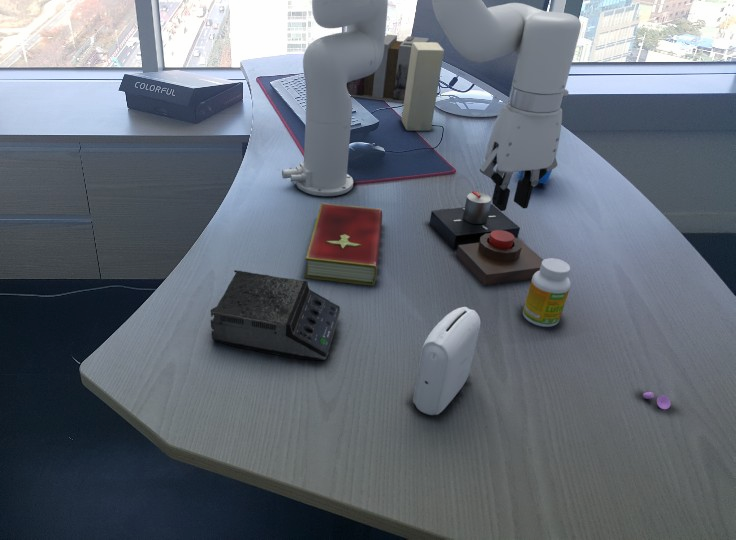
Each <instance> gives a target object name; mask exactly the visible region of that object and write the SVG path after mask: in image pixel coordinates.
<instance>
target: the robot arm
mask: <svg viewBox="0 0 736 540" xmlns="http://www.w3.org/2000/svg"><path fill="white" fill-rule="evenodd" d="M431 4H432V10H433V13H434V16H435V18H436V21H437V23H438V25H439V26H440V28H441V29H442V31H443V33H444V35H445V36H446V37H447V39H448V41H449V42H450V44H451V45H452V46H453V48H454V49H455V51H456V52H457V53H458V54H459V55H460V56H461V57H462V58H464V59H466V60H467V61H469V62H472V63H477V64H478V63H479V64H480V63H486V62H490V61H493V60H496V59H499V58H503V57H509V56H514V55H517V59H516V63H515V69H514V73H513V78H512V83H511V86H510V87H511V88H510V92H509V96H508V101H507V104H502V106H501V108H500V110H499V112H498V113H497V117H496V119H495V122H494V125H493V127H492V131H491V133H490V137H489V140H488V144H487V148H486V152H485V158H484V159H485V161H484V162H483V164H481V166H480V168H479V172H480V173H481V174H482V175H484V176H486V177H488V178H489V179H491V181H492V182H493V184H495V185H494V190H493V194H492V197H491V199H492V200H491V204H492V205H494V206H495V207H496V208H497V209H498V210H499V211H501V212H505V211H506V210H507V206H508V201H509V198H510V194H511V189H510V188H508V187H509V185H510V182H511V180H512V177H513V174H514V173H515V172H516V173H517V172H519V171H523V175H522V179H521V180H519V179H518V181H517V184H516V188H515V193H514V197H513V202H514V203H515V204H517V205H518V206H519V207H520V208H522V209H523V210H524V209H528V207H529V204H530V200H531V197H532V194H533V189H534V187H536V186H537V185H539V183H538V180H540V179H541V178H542V177H543V176H544V175H545V174H546V172H549V171H550V170H552V171H553V170H554V169H555V168H557V167H558V161H557V158H556V157H557V153H556V152H558V148H559V144H558V143H560V139H561V138H560V137H561V131H562V123H563V108H561V106H562V101H563V99H567V98H568V97H569V90H568V89H567V88H566V86H567V83H568V79H569V75H570V71H571V67H572V63H573V60H574V56H575V53H576V49H577V45H578V40H579V37H580V33H581V27H582V23H581V20H580V18H579V17H578V16H576V15H574V14H571V13H568V12H561V11H546V10H543V9H539V8H537V7H535V6H531V5H529V4H526V3H522V2H521V3H520V2H507V3H504V4H498V5H494V6H489V7H487V5H486V4H485V2H484V1H483V0H431ZM388 5H389V0H311V9H312V11H311V12H312V16H313V19H314V21H315V23H316V24H317V25H318V26H320V27H321V28H324V29H339V28H344V27H346V31H343V32H337V33H334V34H328V35H324V36H321V37H319V38H316V39H315V40H314V41H312V42H311V43H310V44H309V45H308V46H307V47H306V49H305V51H304V52H303V57H302V69H303V76H304V82H305V84H304V85H305V126H304V127H305V128H304V151H303V152H304V153H303V161H302V162H301V161H299V166H296V167H295V168H286V169H284V168H283V169H282V170H281V178H282V179H290V182H295V185H296V187H297V188H298V189H299V190H300V191H302V192H303V193H306V194H309V195H313V196H319V197H335V196H336V197H337V196H341V195H344V194H347V193H349V192H350V191H351V190H352V189H353V188H354V179H353V177H352V175H350V174H348V165H349V154H350V143H351V142H350V141H351V131H352V120H353V119H352V117H353V101H352V97H350V95H349V92H348V90H347V82H350V81H353V80H356V79H360V78H363V77H366V76H369V75H371V74H373V73H374V72H375V71H376V70H377V69H378V68H379V66H380V64H381V62H382V58H383V53H384V44H385V36H386V32H387V31H386V30H387V20H388V8H389V7H388ZM555 155H556V157H555ZM496 165H497V167H496ZM495 167H496V170H494V168H495Z"/></svg>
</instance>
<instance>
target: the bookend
mask: <svg viewBox="0 0 736 540" xmlns="http://www.w3.org/2000/svg"><path fill="white" fill-rule="evenodd" d="M413 42H430V38H429V37H419V36H418V37H417V36H413V35H410V36H407V37H406V38H405V39H404V40H398V35H397V34H385V44H384V53H383V58H382V62H381V64H380V66H379V68H378V69H377V70H376V71H375V72H374V73H373V74H371V75H369V76H366V77H363V78H360V79H356V80H353V81H350V82H347V90H348V92H349V94H350V95H351V96H352V97H351V98H359V99H367V100H374V101H375V100H376V101H384V102H391V103H399V104H400V103H401V104H404V97H405V90H406V83H407V76H408V69H409V61H410V54H411V47H412V43H413Z"/></svg>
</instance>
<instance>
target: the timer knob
mask: <svg viewBox="0 0 736 540" xmlns="http://www.w3.org/2000/svg"><path fill="white" fill-rule="evenodd" d="M465 199H466V200H465V204H464V207H465V209H464V214H463V219H464V220H465V221H467V222H469V223H472V224H483V223H485V222H486V221H487V218H488V214H489V209H490V205H491V204H492V196H490V195H488V194H487V193H483V192H477V191H476V190H473V191H472V192H470V193H468V194H467V195H466V198H465Z"/></svg>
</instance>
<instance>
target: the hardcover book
mask: <svg viewBox="0 0 736 540" xmlns="http://www.w3.org/2000/svg"><path fill="white" fill-rule="evenodd" d="M382 225H383V210H382V208H376V207H365V206H355V205H344V204H333V203H326V202H325V203H324V202H323V203H322V202H321V203H320V206H319V209H318V213H317V216H316V221H315V224H314V227H313V230H312V234H311V238H310V241H309V245H308V248H307V252H306V256H305V261H307V267H306V270H305V274H304V278H305V279H311V280H312V279H313V280H320V281H328V282H329V281H330V282H338V283H347V284H355V285H362V286H363V285H364V286H372V287H374V285H375V284H376V281H377V276H378V267H379V255H380V245H381V237H382V235H381V234H382Z"/></svg>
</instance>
